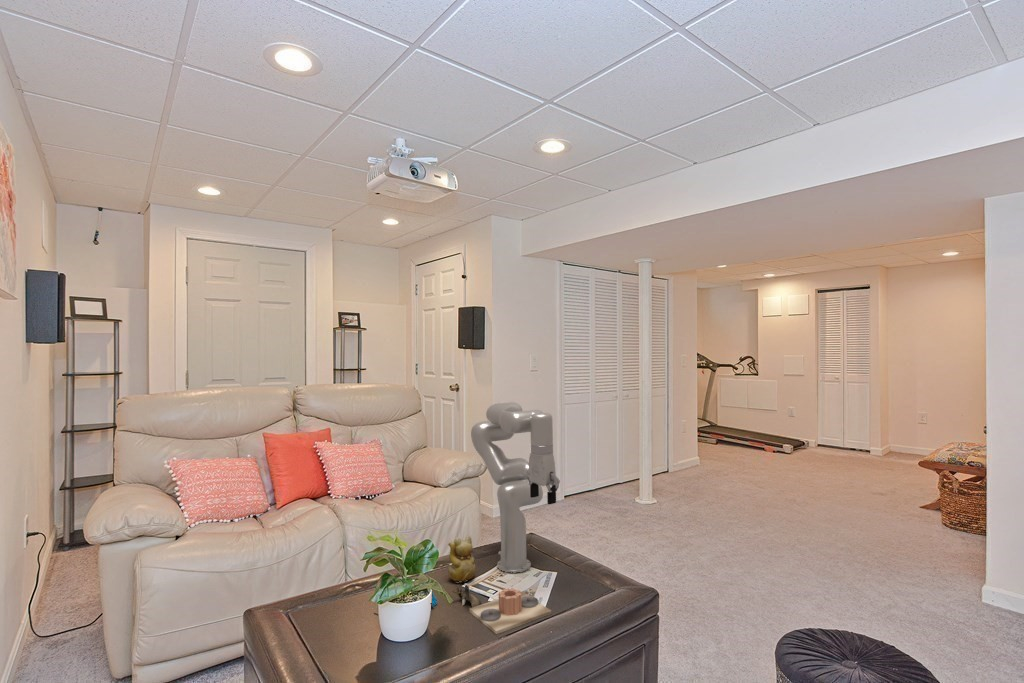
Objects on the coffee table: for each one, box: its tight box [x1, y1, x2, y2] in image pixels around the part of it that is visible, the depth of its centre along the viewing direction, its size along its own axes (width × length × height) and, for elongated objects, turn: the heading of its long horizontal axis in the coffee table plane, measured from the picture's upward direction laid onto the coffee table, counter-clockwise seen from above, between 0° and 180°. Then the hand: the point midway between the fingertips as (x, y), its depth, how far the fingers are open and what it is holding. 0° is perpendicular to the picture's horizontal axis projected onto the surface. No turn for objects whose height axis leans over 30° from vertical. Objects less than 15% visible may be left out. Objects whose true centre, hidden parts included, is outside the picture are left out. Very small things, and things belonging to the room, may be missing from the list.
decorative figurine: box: [447, 534, 476, 583], centre depth 187 cm, size 10×8×15 cm
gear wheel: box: [498, 587, 522, 615], centre depth 163 cm, size 7×7×5 cm
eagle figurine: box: [450, 582, 482, 608], centre depth 169 cm, size 8×7×9 cm
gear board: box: [468, 590, 552, 635], centre depth 163 cm, size 16×20×5 cm
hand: (543, 500), depth 178 cm, fingers open, 9 cm apart
